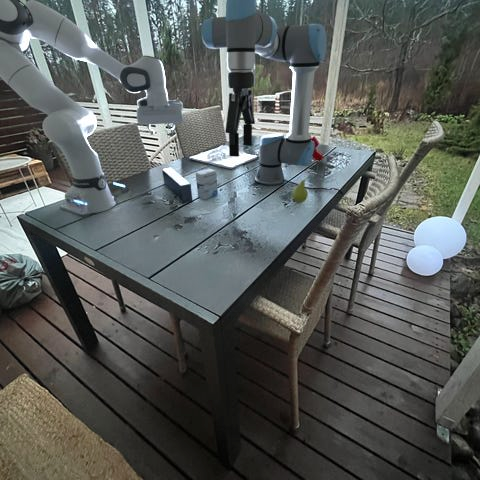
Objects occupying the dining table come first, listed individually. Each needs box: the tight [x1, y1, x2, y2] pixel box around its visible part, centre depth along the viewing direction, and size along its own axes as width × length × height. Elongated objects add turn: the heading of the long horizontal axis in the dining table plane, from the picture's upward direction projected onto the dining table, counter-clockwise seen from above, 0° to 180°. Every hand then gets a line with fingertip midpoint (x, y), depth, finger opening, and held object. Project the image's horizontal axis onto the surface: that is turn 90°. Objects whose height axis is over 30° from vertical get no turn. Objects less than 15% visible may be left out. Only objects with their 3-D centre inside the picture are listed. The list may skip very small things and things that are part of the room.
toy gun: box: [311, 135, 324, 163], centre depth 171 cm, size 18×4×15 cm
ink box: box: [195, 168, 219, 200], centre depth 125 cm, size 8×5×12 cm, turn 135°
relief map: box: [189, 144, 258, 170], centre depth 177 cm, size 27×35×5 cm
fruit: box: [291, 174, 311, 204], centre depth 118 cm, size 7×8×12 cm
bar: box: [161, 167, 193, 204], centre depth 130 cm, size 26×5×8 cm, turn 31°
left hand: (163, 133), depth 126 cm, fingers open, 8 cm apart
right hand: (241, 150), depth 86 cm, fingers open, 13 cm apart
